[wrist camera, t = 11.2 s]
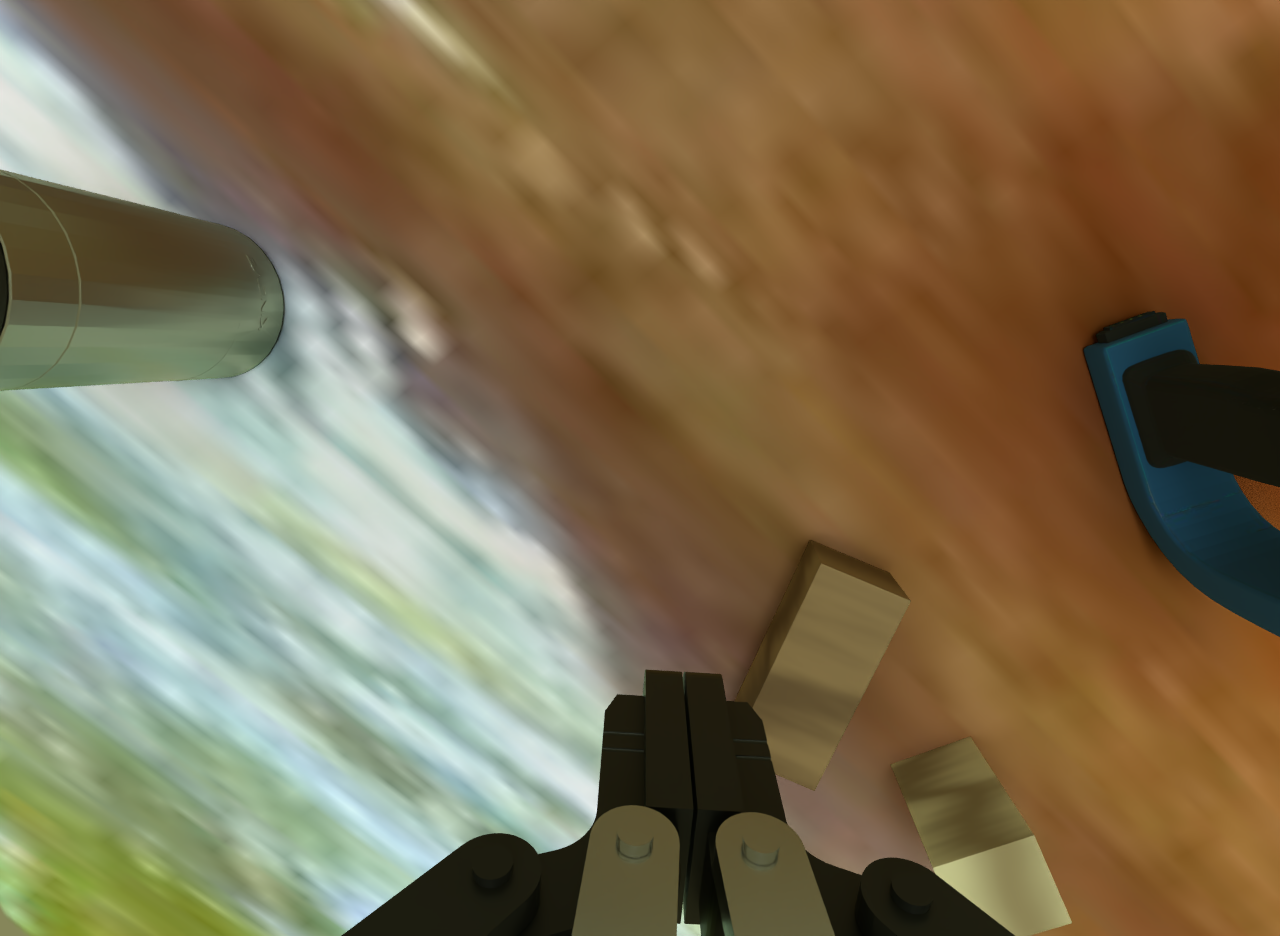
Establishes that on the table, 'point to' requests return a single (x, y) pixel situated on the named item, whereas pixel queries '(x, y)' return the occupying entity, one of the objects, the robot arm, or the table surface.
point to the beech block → (979, 838)
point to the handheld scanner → (1195, 457)
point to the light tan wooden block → (820, 658)
